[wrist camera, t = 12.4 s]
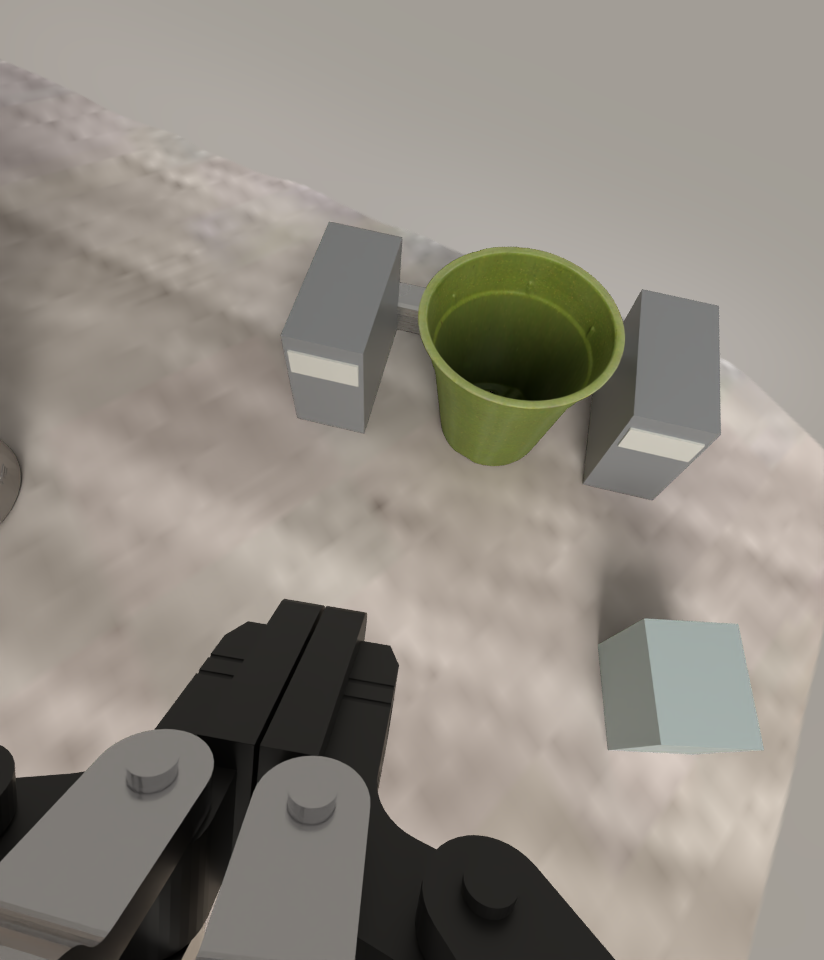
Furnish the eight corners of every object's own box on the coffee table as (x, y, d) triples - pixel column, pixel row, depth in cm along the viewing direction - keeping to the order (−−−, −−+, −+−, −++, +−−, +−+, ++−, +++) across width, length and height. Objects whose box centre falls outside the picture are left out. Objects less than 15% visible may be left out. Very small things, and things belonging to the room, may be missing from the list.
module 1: (296, 419, 43) (279, 337, 34) (336, 315, 47) (329, 221, 39) (363, 435, 42) (362, 356, 34) (396, 329, 47) (402, 237, 39)
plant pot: (499, 337, 47) (534, 219, 37) (598, 446, 43) (668, 347, 33) (375, 403, 44) (377, 292, 34) (471, 527, 40) (506, 444, 30)
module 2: (582, 485, 42) (633, 417, 34) (594, 373, 46) (642, 289, 38) (652, 502, 41) (720, 437, 33) (657, 387, 46) (718, 305, 38)
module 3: (607, 750, 34) (661, 744, 28) (597, 644, 37) (644, 618, 31) (692, 754, 34) (764, 750, 28) (675, 649, 37) (738, 624, 31)
